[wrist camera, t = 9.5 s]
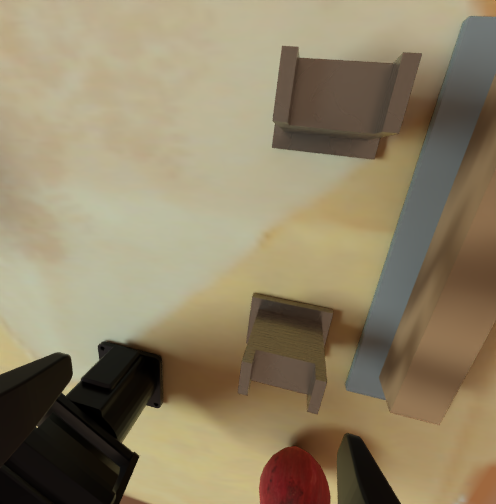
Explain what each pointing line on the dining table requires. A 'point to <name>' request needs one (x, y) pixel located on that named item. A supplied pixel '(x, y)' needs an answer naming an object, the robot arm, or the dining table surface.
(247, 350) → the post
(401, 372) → the rail
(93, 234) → the dining table surface
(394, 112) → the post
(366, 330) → the mat
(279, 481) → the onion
